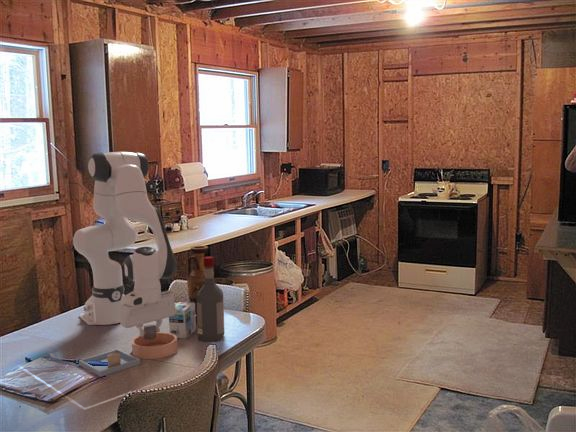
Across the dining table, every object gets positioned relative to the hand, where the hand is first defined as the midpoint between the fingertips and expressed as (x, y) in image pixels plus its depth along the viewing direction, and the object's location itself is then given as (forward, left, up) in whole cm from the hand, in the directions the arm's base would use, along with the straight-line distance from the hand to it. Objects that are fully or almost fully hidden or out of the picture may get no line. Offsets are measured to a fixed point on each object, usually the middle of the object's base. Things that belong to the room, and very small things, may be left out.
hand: (149, 334), depth 207 cm
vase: (-13, +32, -6) cm, 35 cm away
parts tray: (+3, -17, -6) cm, 18 cm away
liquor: (+6, +22, -6) cm, 23 cm away
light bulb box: (-6, +18, -6) cm, 20 cm away
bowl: (+3, 0, -6) cm, 6 cm away
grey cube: (0, 0, -1) cm, 1 cm away
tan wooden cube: (+6, -17, -5) cm, 19 cm away
